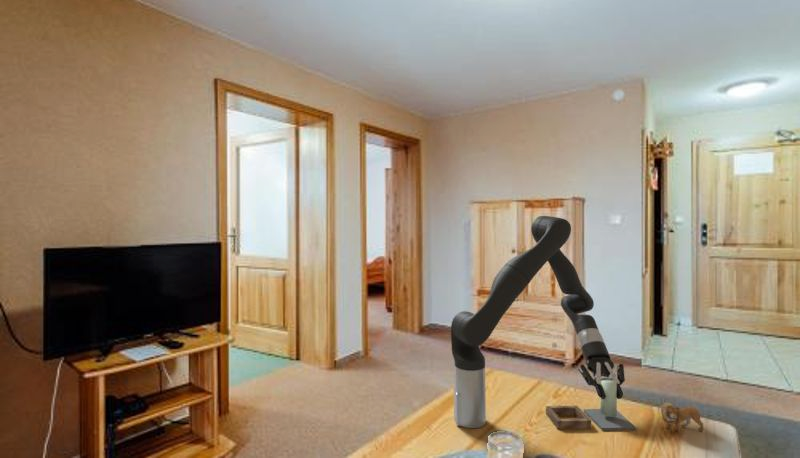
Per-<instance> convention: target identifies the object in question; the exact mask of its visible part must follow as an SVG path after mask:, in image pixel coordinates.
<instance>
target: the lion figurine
mask: <svg viewBox="0 0 800 458" xmlns="http://www.w3.org/2000/svg"><path fill="white" fill-rule="evenodd" d="M660 413H661V417H662V419H663V420H664V422H666V425H667V426H666V427H665V431H667V432H670V431H671V429H672V425H674V426H675V431H674V435H677V436H680V435H681V430H680V427H682V428H688V427H689V425H690V424H691V419H692V420H693V421H694V422H695V423H696V424H698V426H699V427H698V429H697V430H698V431H699V432H704V423H703V422H702V421H701V414H700V413H699V410H698V409H697V408H696V407H695V406H690V405H689V406H688V405H687V406H683V407H680V408H679V407H678V406H676V405H675V404H673V403H672V402H665V403H663V404H662V405H661V406H660ZM683 422H685V423H684V424H682V425H681V423H683Z"/></svg>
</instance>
